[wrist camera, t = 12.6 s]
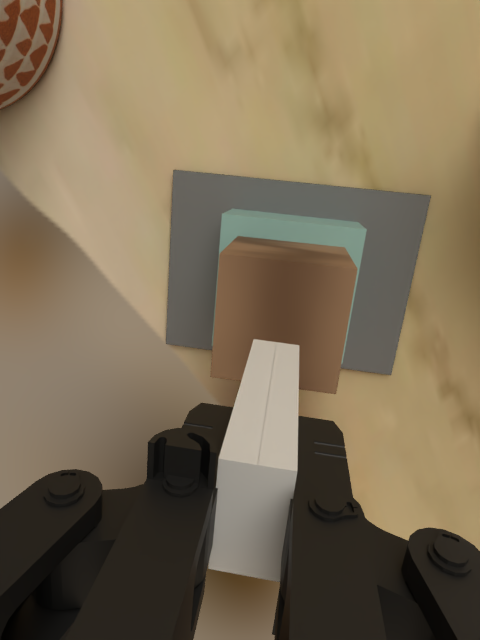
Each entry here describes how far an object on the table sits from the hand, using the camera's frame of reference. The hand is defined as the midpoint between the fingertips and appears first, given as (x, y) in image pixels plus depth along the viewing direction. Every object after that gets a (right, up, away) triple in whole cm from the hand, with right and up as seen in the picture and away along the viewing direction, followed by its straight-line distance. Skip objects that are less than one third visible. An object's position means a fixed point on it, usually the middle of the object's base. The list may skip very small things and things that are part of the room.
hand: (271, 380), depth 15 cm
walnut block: (+2, +4, +11) cm, 12 cm away
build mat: (+2, +5, +15) cm, 16 cm away
